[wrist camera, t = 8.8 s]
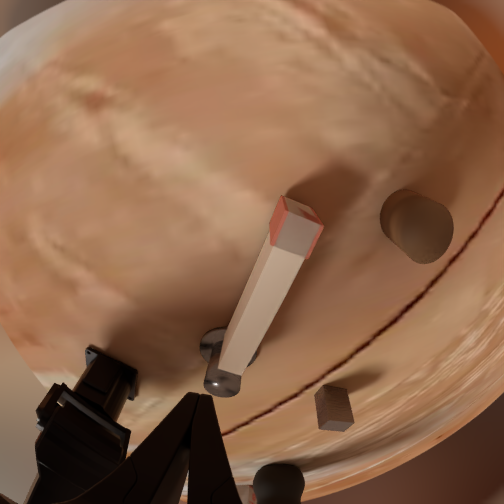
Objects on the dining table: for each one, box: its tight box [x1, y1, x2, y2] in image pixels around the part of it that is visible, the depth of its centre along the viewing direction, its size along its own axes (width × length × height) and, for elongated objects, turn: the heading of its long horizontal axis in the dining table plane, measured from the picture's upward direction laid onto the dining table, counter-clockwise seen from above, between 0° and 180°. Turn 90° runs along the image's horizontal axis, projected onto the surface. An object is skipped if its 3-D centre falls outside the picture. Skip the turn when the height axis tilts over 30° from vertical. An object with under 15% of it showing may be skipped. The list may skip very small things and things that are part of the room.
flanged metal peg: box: [200, 327, 257, 397], centre depth 21 cm, size 5×5×4 cm
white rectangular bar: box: [218, 195, 324, 376], centre depth 18 cm, size 12×2×4 cm, turn 159°
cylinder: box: [380, 190, 454, 264], centre depth 16 cm, size 4×4×4 cm
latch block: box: [314, 385, 354, 432], centre depth 23 cm, size 2×3×4 cm, turn 69°
